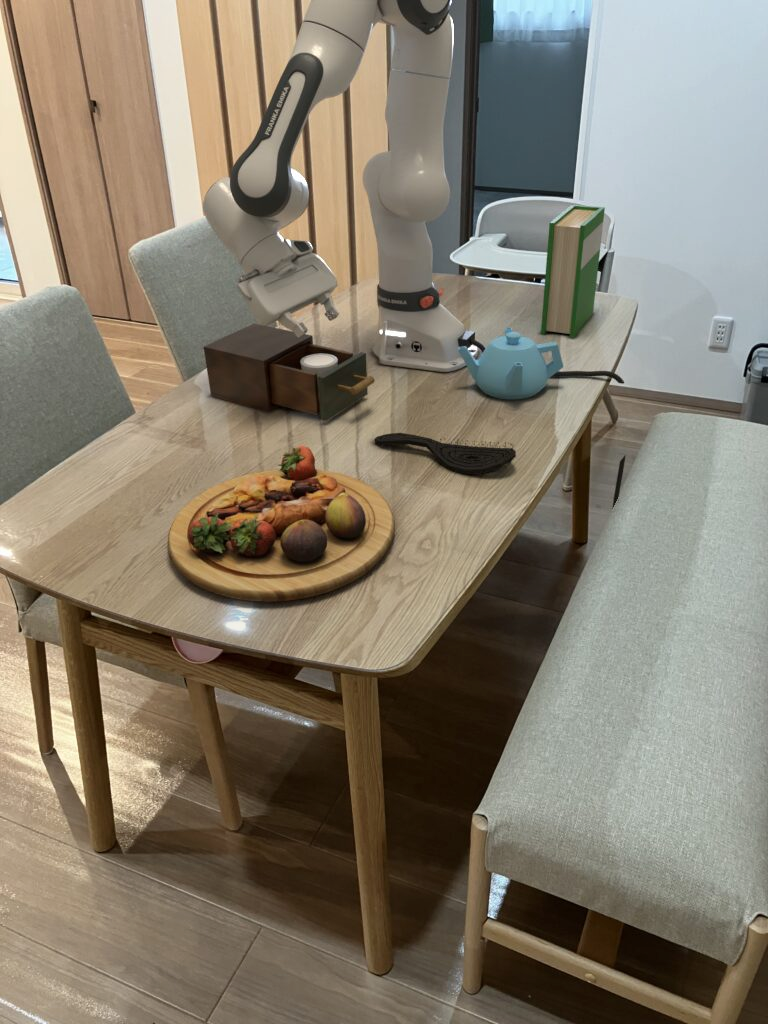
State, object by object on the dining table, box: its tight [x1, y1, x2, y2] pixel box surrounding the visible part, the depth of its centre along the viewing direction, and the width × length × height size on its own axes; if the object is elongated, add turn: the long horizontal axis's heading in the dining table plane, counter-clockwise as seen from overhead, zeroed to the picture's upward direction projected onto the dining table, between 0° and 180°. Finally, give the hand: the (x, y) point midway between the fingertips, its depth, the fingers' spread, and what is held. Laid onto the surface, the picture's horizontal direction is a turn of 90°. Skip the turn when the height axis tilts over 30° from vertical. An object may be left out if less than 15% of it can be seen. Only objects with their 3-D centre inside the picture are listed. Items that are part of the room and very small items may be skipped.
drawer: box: [267, 343, 375, 422], centre depth 152 cm, size 18×13×8 cm
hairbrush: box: [373, 432, 517, 475], centre depth 136 cm, size 8×4×25 cm
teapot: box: [458, 327, 564, 400], centre depth 157 cm, size 15×15×11 cm
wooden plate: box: [167, 445, 396, 603], centre depth 116 cm, size 32×32×8 cm
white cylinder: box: [300, 354, 338, 401], centre depth 153 cm, size 7×7×7 cm
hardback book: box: [540, 204, 606, 339], centre depth 183 cm, size 18×7×24 cm, turn 154°
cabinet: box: [203, 322, 314, 413], centre depth 159 cm, size 15×15×10 cm
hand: (319, 325), depth 147 cm, fingers open, 8 cm apart
